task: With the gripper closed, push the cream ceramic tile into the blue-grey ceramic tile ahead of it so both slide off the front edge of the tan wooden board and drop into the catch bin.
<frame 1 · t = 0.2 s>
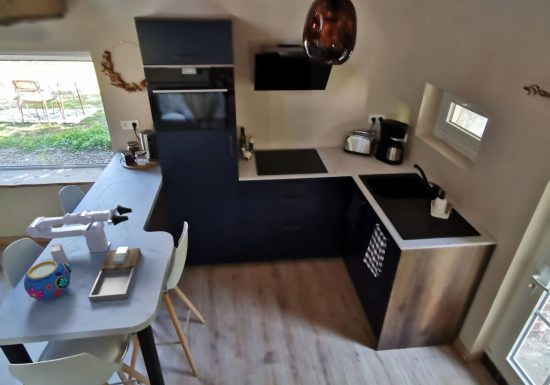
hand: (129, 214, 177), 21 cm above the breakfast bar, tool horizontal, fingers open, 7 cm apart
skincare box: (63, 266, 172), on the breakfast bar
tan wooden board: (122, 263, 174), on the breakfast bar
blue grey tile: (120, 260, 171), point 4 cm above the breakfast bar, touching tan wooden board
cream tile: (123, 253, 176), point 4 cm above the breakfast bar, touching tan wooden board
ceramic pot: (53, 293, 156), on the breakfast bar
catch bin: (114, 286, 160), on the breakfast bar
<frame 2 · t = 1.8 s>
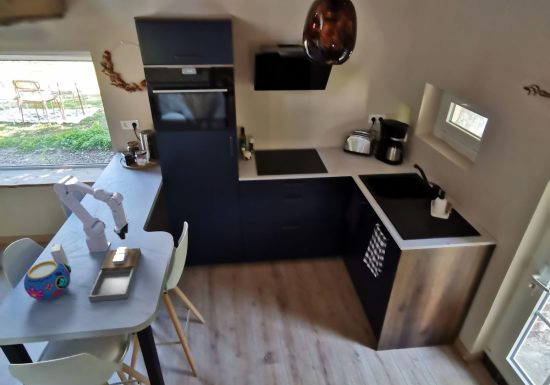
hand: (124, 236, 179), 9 cm above the breakfast bar, tool pointing down, fingers open, 5 cm apart
nothing on the breakfast bar moved.
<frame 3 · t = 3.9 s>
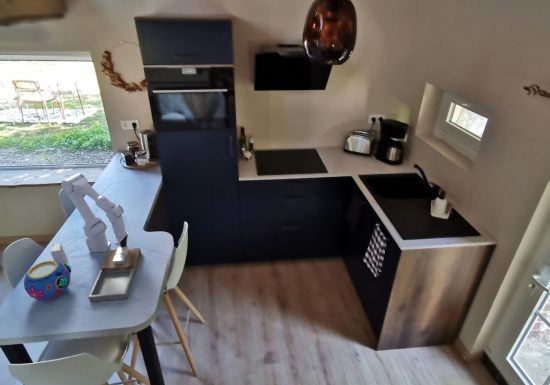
hand: (124, 247, 178), 5 cm above the breakfast bar, tool pointing down, fingers closed
cream tile: (123, 253, 175), point 4 cm above the breakfast bar, touching gripper, tan wooden board
everything else where it was.
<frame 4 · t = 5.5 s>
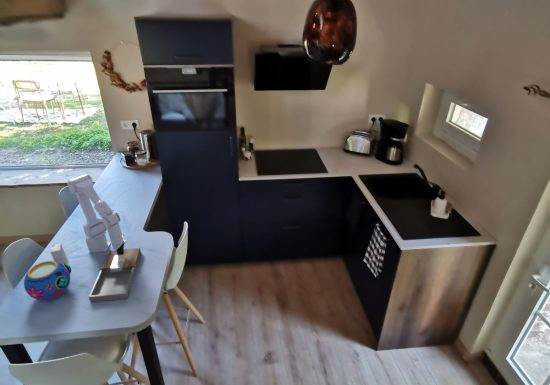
hand: (121, 255, 173), 5 cm above the breakfast bar, tool pointing down, fingers closed
blue grey tile: (117, 267, 166), point 4 cm above the breakfast bar, touching cream tile, tan wooden board
cream tile: (119, 260, 170), point 4 cm above the breakfast bar, touching blue grey tile, gripper, tan wooden board
everything else where it was.
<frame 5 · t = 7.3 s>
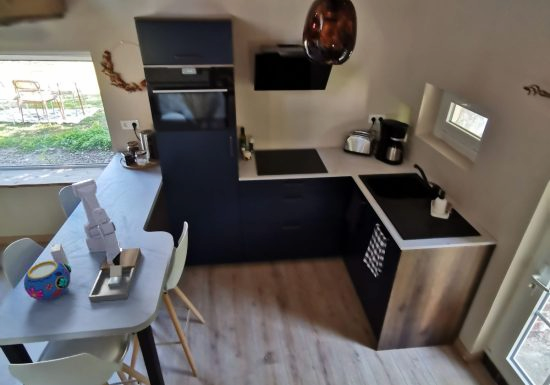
hand: (117, 264, 166), 5 cm above the breakfast bar, tool pointing down, fingers closed
blue grey tile: (114, 279, 161), point 2 cm above the breakfast bar, tilted 180°, touching catch bin, cream tile
cream tile: (116, 270, 166), point 3 cm above the breakfast bar, tilted 46°, touching blue grey tile, gripper
everything else where it was.
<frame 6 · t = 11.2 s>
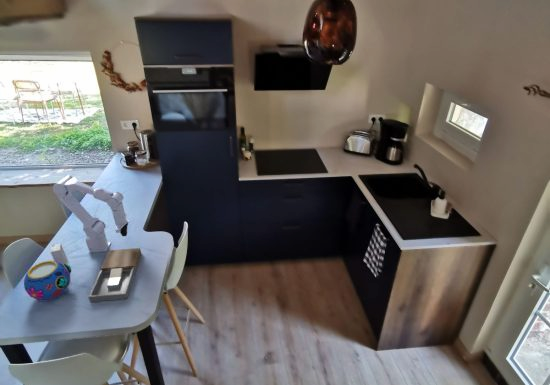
hand: (124, 235, 180), 9 cm above the breakfast bar, tool pointing down, fingers closed
blue grey tile: (113, 281, 160), point 2 cm above the breakfast bar, tilted 180°, touching catch bin
cream tile: (116, 274, 165), point 1 cm above the breakfast bar, tilted 22°, touching catch bin
everything else where it was.
at the end: cream tile inside the target area (6.2 cm from its centre), point 1.3 cm above the breakfast bar; blue grey tile inside the target area (0.6 cm from its centre), point 2.4 cm above the breakfast bar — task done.
